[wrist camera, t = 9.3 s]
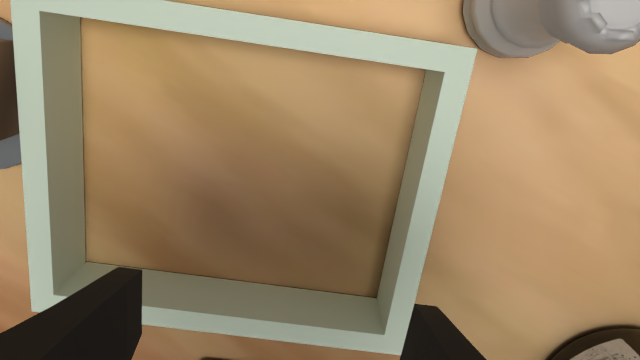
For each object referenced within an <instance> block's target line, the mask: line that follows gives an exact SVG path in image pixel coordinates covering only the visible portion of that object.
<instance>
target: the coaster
mask: <svg viewBox="0 0 640 360" xmlns="http://www.w3.org/2000/svg"><path fill="white" fill-rule="evenodd" d="M0 39H5V40H11V41H13V30H12V24H11V23H9V22H7V21H6V20H4V19H2V18H0ZM19 163H22V161H21V147H20V134H17V135H15V136H12V137H9V138H7V139H4V140H1V141H0V169H5V168H9V167H12V166H15V165H17V164H19Z"/></svg>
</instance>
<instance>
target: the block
mask: <svg viewBox="0 0 640 360" xmlns="http://www.w3.org/2000/svg"><path fill="white" fill-rule="evenodd" d="M17 134H20V132H19V118H18V103H17V88H16V74H15V59H14V45H13V41H11V40H5V39H0V141H1V140H4V139H7V138H9V137H12V136H15V135H17Z"/></svg>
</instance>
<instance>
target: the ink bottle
mask: <svg viewBox="0 0 640 360" xmlns="http://www.w3.org/2000/svg"><path fill="white" fill-rule="evenodd" d="M551 360H640V329H627V328H623V329H610V330H603V331H599V332H595V333H591V334H589V335H586V336H583V337H581V338H579V339H577V340H575V341H573V342H572V343H570V344H568V345H567V346H566V347H564V348H563V349H562V350H561V351H559V352H558V353H557V354H556V355H555V356H554V357H553V358H552V359H551Z"/></svg>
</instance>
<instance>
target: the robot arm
mask: <svg viewBox="0 0 640 360" xmlns="http://www.w3.org/2000/svg"><path fill="white" fill-rule="evenodd" d="M141 334H142V270H141V269H133V268H125V267H117V268H116V269H114V270H112V271H110V272H108V273H107V274H105V275H103V276H102V277H100V278H98V279H97V280H95V281H94V282H92V283H90V284H89V285H87V286H85V287H84V288H82V289H80V290H79V291H77V292H75V293H74V294H72V295H70V296H69V297H67V298H65V299H63V300H62V301H60V302H58V303H57V304H55V305H53V306H51V307H50V308H48V309H46V310H44V311H42V312H40V313H38V314H37V315H35V316H33V317H31V318H29V319H27V320H25V321H24V322H22V323H20V324H18V325H16V326H14V327H12V328H10V329H8V330H6V331H4V332H2V333H0V360H131V359H132V356H133V354H134V352H135V349H136V347H137V344H138V342H139V339H140V337H141ZM400 360H486V359H485V358H484V357H483V356H482V355H481V354H480V352H479V351H478V350H477V349H476V348H475V347H474V346H473V345H472V344H471V343H470V342H469V341H468V340H467V339H466V338H465V336H464V335H463V334H462V333H461V332H460V331H459V330H458V329H457V328H456V327H455V325H454V324H453V323H452V322H451V321H450V320H449V319H448V318H447V317H446V316H445V315H444V314H443V312H442V311H441V310H440V309H439V308H438V307H436V306H428V305H420V304H414V307H413V311H412V315H411V319H410V322H409V326H408V330H407V334H406V338H405V342H404V346H403V349H402V353H401V357H400Z"/></svg>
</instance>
